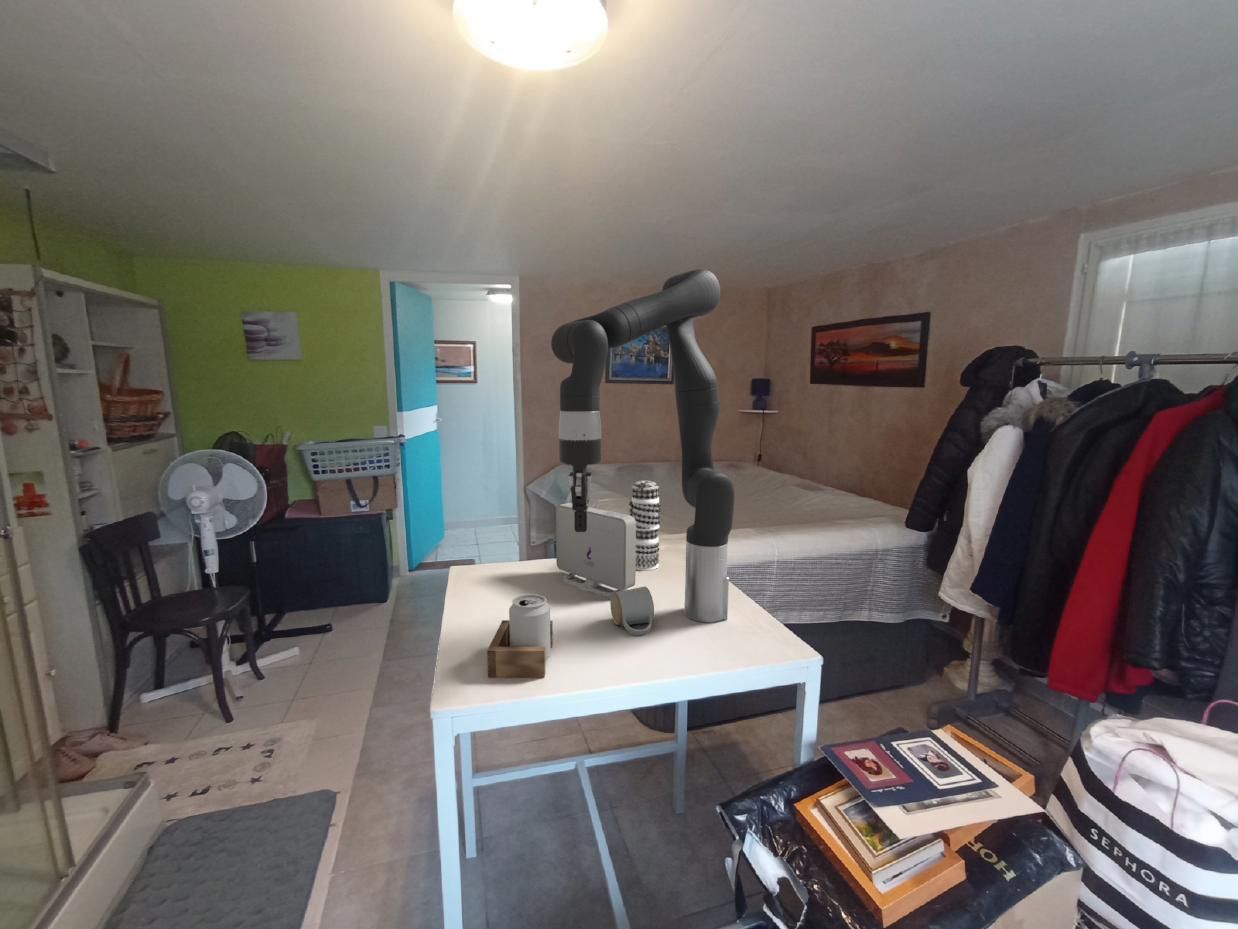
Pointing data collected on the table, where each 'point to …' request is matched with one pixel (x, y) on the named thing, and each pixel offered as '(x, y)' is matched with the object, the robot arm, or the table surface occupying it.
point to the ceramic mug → (633, 609)
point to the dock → (515, 656)
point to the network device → (597, 549)
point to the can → (530, 622)
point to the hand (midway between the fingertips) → (580, 530)
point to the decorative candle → (646, 523)
